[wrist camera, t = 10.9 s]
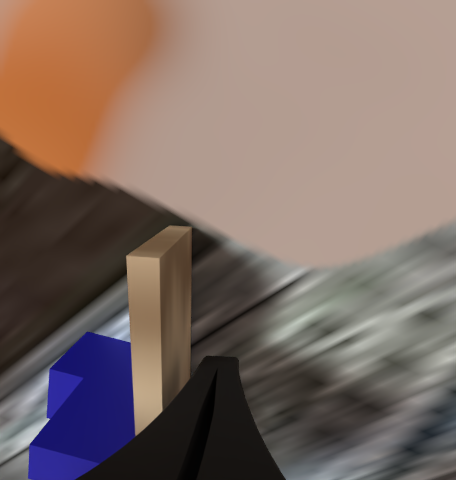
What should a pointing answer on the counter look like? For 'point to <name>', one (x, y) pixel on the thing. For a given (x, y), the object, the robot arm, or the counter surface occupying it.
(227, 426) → the robot arm
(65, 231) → the counter surface
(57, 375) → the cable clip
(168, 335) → the board
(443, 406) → the counter surface
